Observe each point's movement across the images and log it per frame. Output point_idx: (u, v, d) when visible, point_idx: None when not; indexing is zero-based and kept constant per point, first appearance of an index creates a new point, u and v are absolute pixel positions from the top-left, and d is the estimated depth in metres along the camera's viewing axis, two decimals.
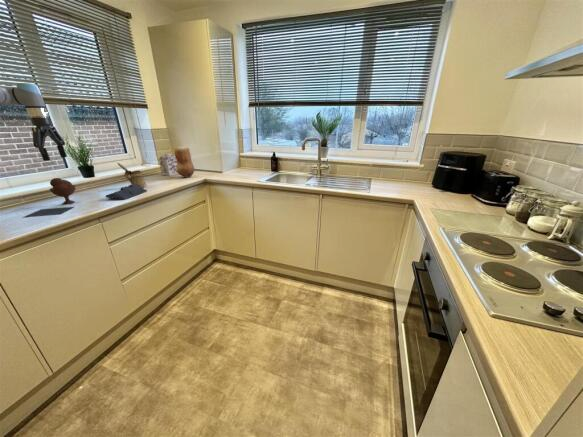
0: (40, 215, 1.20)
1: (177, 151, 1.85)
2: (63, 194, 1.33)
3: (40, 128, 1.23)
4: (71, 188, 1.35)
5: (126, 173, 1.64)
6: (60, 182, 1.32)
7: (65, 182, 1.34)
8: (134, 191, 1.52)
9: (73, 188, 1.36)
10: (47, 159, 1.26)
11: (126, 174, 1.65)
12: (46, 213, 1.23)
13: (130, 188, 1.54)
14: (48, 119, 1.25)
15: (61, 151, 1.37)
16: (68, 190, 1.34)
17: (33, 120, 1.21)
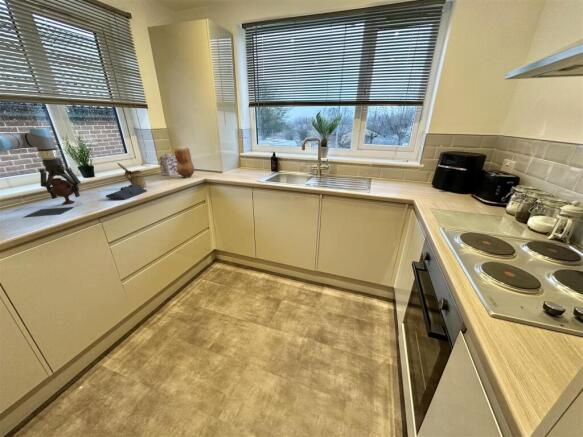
0: (40, 215, 1.20)
1: (177, 151, 1.85)
2: (63, 194, 1.33)
3: (64, 168, 1.33)
4: (71, 188, 1.35)
5: (126, 173, 1.64)
6: (60, 182, 1.32)
7: (65, 182, 1.34)
8: (134, 191, 1.52)
9: None
10: (78, 195, 1.39)
11: (126, 174, 1.65)
12: (46, 213, 1.23)
13: (130, 188, 1.54)
14: None
15: None
16: (68, 190, 1.34)
17: (58, 161, 1.29)
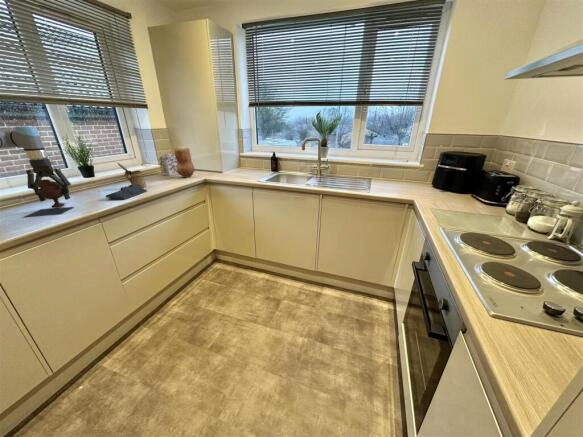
0: (40, 215, 1.20)
1: (177, 151, 1.85)
2: (52, 196, 1.25)
3: None
4: (60, 190, 1.27)
5: (126, 173, 1.64)
6: (49, 184, 1.24)
7: (54, 184, 1.27)
8: (134, 191, 1.52)
9: None
10: (68, 197, 1.31)
11: (126, 174, 1.65)
12: (46, 213, 1.23)
13: (130, 188, 1.54)
14: None
15: None
16: (57, 192, 1.26)
17: (46, 161, 1.22)
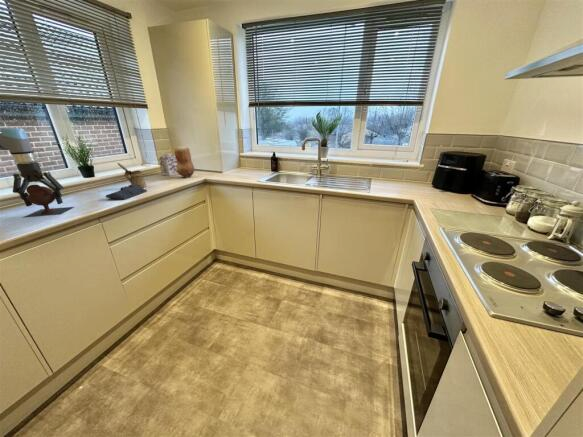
0: (40, 215, 1.20)
1: (177, 151, 1.85)
2: (41, 202, 1.19)
3: None
4: (51, 196, 1.20)
5: (126, 173, 1.64)
6: (38, 189, 1.17)
7: (44, 189, 1.20)
8: (134, 191, 1.52)
9: (53, 196, 1.22)
10: (61, 201, 1.24)
11: (126, 174, 1.65)
12: None
13: (130, 188, 1.54)
14: None
15: (27, 199, 1.20)
16: (47, 198, 1.19)
17: (35, 165, 1.15)
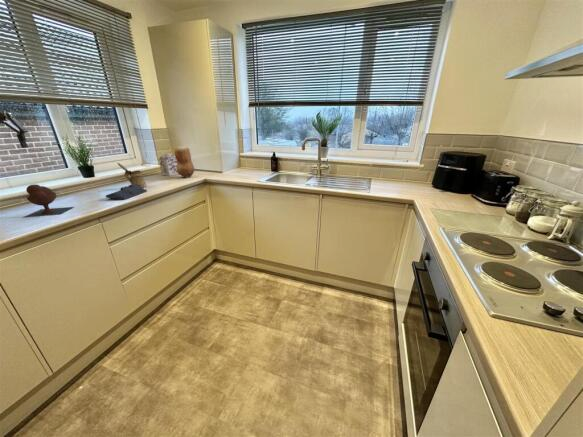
0: (40, 215, 1.20)
1: (177, 151, 1.85)
2: (41, 202, 1.19)
3: (5, 114, 1.18)
4: (51, 196, 1.20)
5: (126, 173, 1.64)
6: (38, 189, 1.17)
7: (44, 189, 1.20)
8: (134, 191, 1.52)
9: (53, 196, 1.22)
10: (26, 146, 1.24)
11: (126, 174, 1.65)
12: None
13: (130, 188, 1.54)
14: None
15: None
16: (47, 198, 1.19)
17: None
